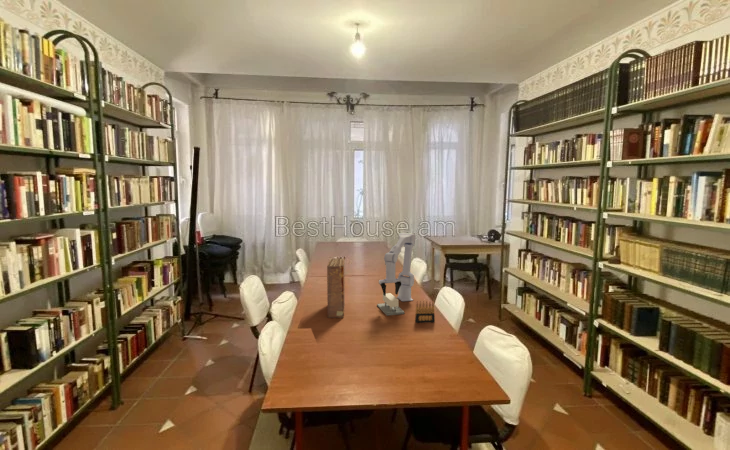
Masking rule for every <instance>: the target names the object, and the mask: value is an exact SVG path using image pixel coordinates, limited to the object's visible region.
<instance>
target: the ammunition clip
mask: <svg viewBox="0 0 730 450" xmlns="http://www.w3.org/2000/svg"><path fill="white" fill-rule="evenodd" d="M422 301H423V302H422ZM422 301H421V300H420V301H416V305H415V317H414V322H415V323H416V324H420V323H421V324H422V323H424V324H425V323H435V321H436V318H435V316H436V315H435V301H433V300H432V302H431V300H429V302H428V301H427V300H426V301H424V300H422Z"/></svg>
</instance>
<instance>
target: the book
mask: <svg viewBox="0 0 730 450" xmlns="http://www.w3.org/2000/svg"><path fill="white" fill-rule="evenodd" d="M326 275H327V277H326V283H327V284H326V286H327V287H326V289H327V290H326V291H327V293H326V295H327V301H326V302H327V319H329V318H339V319H340V318H344V316H345V303H346V302H345V297H346V296H345V295H346V294H345V287H346V286H345V283H346V282H345V258H331V257H329V259H328V263H327V267H326Z"/></svg>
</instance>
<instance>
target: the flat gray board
mask: <svg viewBox="0 0 730 450" xmlns="http://www.w3.org/2000/svg"><path fill="white" fill-rule="evenodd" d="M376 306H377V308H378V309H380V310H381V312H383V314H385V316H396V315H405V311H404V310H403V309H402V308H401V307H400V306H397V307H390V306H389V305H388V304H387V303H386V302H384V303H383V302H382V303H377V304H376Z"/></svg>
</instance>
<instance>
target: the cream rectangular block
mask: <svg viewBox="0 0 730 450" xmlns="http://www.w3.org/2000/svg"><path fill="white" fill-rule="evenodd" d="M382 301H383V302H384V303H385V302H386V303H387V304H388V305H389V306H390V307H397V306H398V307H400V306H399V301H400V299H398V298H397V296H395V295H393V294H392V293H391V292H388V293H387V292H386V296H384V295H383V294H382Z"/></svg>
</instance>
